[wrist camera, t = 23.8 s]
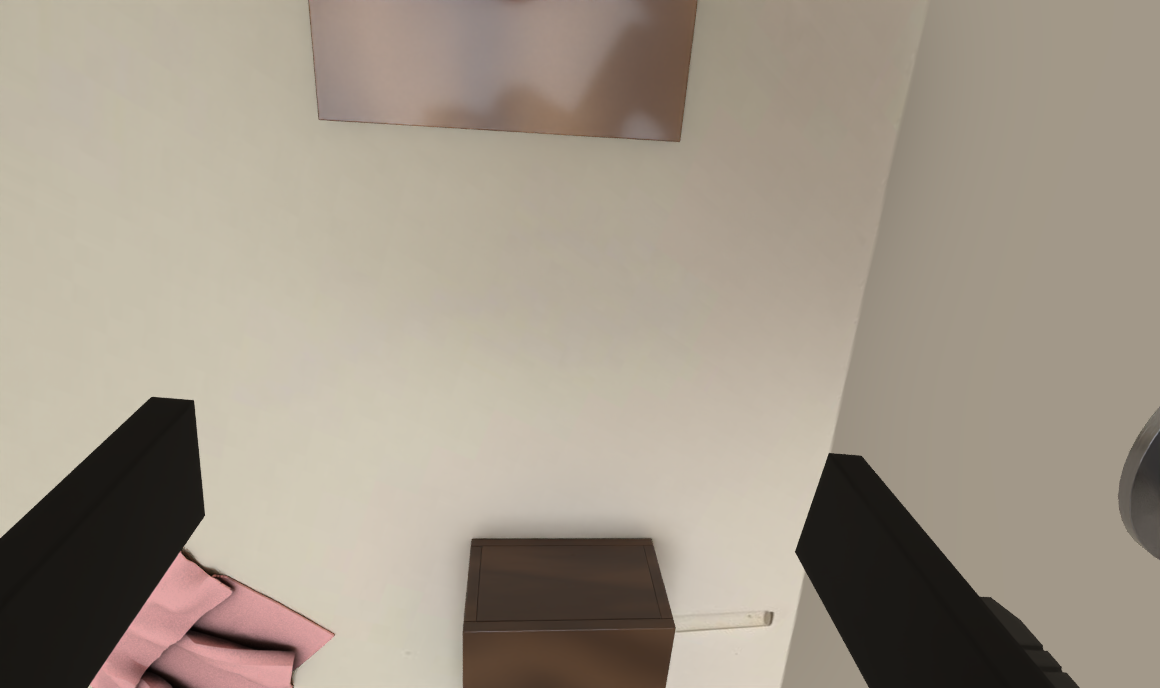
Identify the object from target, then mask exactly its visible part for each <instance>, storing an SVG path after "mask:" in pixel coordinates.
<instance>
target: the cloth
mask: <svg viewBox="0 0 1160 688" xmlns="http://www.w3.org/2000/svg"><path fill="white" fill-rule="evenodd" d="M334 636H335V634H333V633H331V632H329V631H328V630H326V629H324V628H322V627H321V626H319V625H317V624H315V623H314V622H312V621H310V620H308V619H307V618H305V617H303V616H301V615H300V614H298V613H296V612H294V611H292V610H290V609H288V608H287V607H285V606H283V605H282V604H280V603H278V602H276V601H274V600H272V599H270V598H268V597H266V596H264V595H262V594H260V593H258V592H256V591H254V590H252V589H250V588H249V587H247V586H245V585H243V584H241V583H239V582H237V581H235V580H233V579H231V578H229V577H228V576H224V575H216V574H214V575H212V576H209V575H208V574H207V573H206V572H205V571H204V570H202V569H201V568H200V567H199V566H198V565H197V564H195V563H194V562H192V561H190V560H187V559H186V558H185V557H184V555H183V553H182V551H180V553H179V554H178V556H177V557H176V559H175V560H174V562H173V563H172V565H171V566H170V567H169V569H168V570H167V572H166V573H165V575H164V576H163V578H162V579H161V581H160V582H159V584H158V585H157V587H156V588H155V589H154V591H153V592H152V594H151V595H150V597H149V598H148V600H147V601H146V603H145V604H144V606H143V607H142V609H141V610H140V611H139V613H138V614H137V616H136V617H135V619H134V620H133V622H132V623H131V625H130V626H129V628H128V629H127V631H126V632H125V634H124V635H123V636H122V638H121V639H120V641H119V642H118V644H117V645H116V647H115V648H114V650H113V651H112V653H111V654H110V656H109V657H108V658H107V660H106V661H105V663H104V664H103V666H102V667H101V669H100V670H99V672H98V673H97V675H96V676H95V678H94V679H93V680H92V682H91V683H90V685H91V686H92V688H293V685H291V684H290V681H291V674H292V671H294V670H295V669H296V668H298V667H299V666H300V665H301V664H303V663H304V662H305V661H306V660H307V659H309V658H310V657H311V656H312V655H313V654H315V653H316V652H317V651H318V650H319V649H320V648H322V647H323V646H324V645H325V644H326V643H327V642H328V641H329V640H331V639H332V638H333V637H334Z"/></svg>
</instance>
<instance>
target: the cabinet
mask: <svg viewBox="0 0 1160 688" xmlns="http://www.w3.org/2000/svg"><path fill="white" fill-rule="evenodd" d="M675 629H676V627H675V624H674V620H673V616H672V612H671V609H670V605H669V601H668V598H667V594H666V590H665V586H664V583H663V579H662V575H661V572H660V568H659V564H658V561H657V557H656V553H655V550H654V546H653V543H652V539H472V540H471V550H470V561H469V571H468V582H467V592H466V603H465V613H464V623H463V688H666V682H667V676H668V670H669V664H670V658H671V652H672V646H673V640H674V635H675Z"/></svg>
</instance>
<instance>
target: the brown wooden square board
mask: <svg viewBox="0 0 1160 688" xmlns="http://www.w3.org/2000/svg"><path fill="white" fill-rule="evenodd" d="M697 1H698V0H308V2H309V14H310V25H311V37H312V49H313V60H314V72H315V83H316V95H317V107H318V118H319V120H330V121H347V122H363V123H379V124H396V125H412V126H428V127H445V128H461V129H477V130H494V131H510V132H526V133H543V134H559V135H575V136H592V137H608V138H624V139H641V140H657V141H673V142H680V137H681V129H682V121H683V113H684V105H685V97H686V89H687V81H688V73H689V65H690V57H691V49H692V41H693V33H694V25H695V17H696V9H697Z"/></svg>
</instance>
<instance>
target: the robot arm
mask: <svg viewBox="0 0 1160 688" xmlns="http://www.w3.org/2000/svg"><path fill="white" fill-rule="evenodd" d="M204 516H205V510H204V500H203V489H202V479H201V469H200V458H199V448H198V437H197V427H196V417H195V406H194V400H184V399H172V398H160V397H151V398H150V399H149V400H148V401H147V402H146V403H144V404H143V405H142V406H141V407H140V408H139V409H138V410H137V411H136V412H135V413H134V414H133V415H132V416H131V417H129V418H128V419H127V420H126V421H125V422H124V423H123V424H122V425H121V426H120V427H119V428H118V429H117V430H116V431H115V432H113V433H112V434H111V435H110V436H109V437H108V438H107V439H106V440H105V441H104V442H103V443H102V444H101V445H100V446H99V447H97V448H96V449H95V450H94V451H93V452H92V453H91V454H90V455H89V456H88V457H87V458H86V459H85V460H84V461H82V462H81V463H80V464H79V465H78V466H77V467H76V468H75V469H74V470H73V471H72V472H71V473H70V474H69V475H68V476H66V477H65V478H64V479H63V480H62V481H61V482H60V483H59V484H58V485H57V486H56V487H55V488H54V489H53V490H51V491H50V492H49V493H48V494H47V495H46V496H45V497H44V498H43V499H42V500H41V501H40V502H39V503H38V504H37V505H35V506H34V507H33V508H32V509H31V510H30V511H29V512H28V513H27V514H26V515H25V516H24V517H23V518H22V519H20V520H19V521H18V522H17V523H16V524H15V525H14V526H13V527H12V528H11V529H10V530H9V531H8V532H7V533H6V534H4V535H3V536H2V537H1V538H0V688H88V686H89V685H90V683H91V682H92V680H93V679H94V678H95V676H96V675H97V673H98V672H99V670H100V669H101V667H102V666H103V664H104V663H105V661H106V660H107V658H108V657H109V656H110V654H111V653H112V651H113V650H114V648H115V647H116V645H117V644H118V642H119V641H120V639H121V638H122V636H123V635H124V634H125V632H126V631H127V629H128V628H129V626H130V625H131V623H132V622H133V620H134V619H135V617H136V616H137V614H138V613H139V611H140V610H141V609H142V607H143V606H144V604H145V603H146V601H147V600H148V598H149V597H150V595H151V594H152V592H153V591H154V589H155V588H156V587H157V585H158V584H159V582H160V581H161V579H162V578H163V576H164V575H165V573H166V572H167V570H168V569H169V567H170V566H171V565H172V563H173V562H174V560H175V559H176V557H177V556H178V554H179V553H180V551H181V550H182V548H183V547H184V545H185V544H186V543H187V541H188V540H189V538H190V537H191V535H192V534H193V532H194V531H195V529H196V528H197V526H198V525H199V523H200V522H201V521H202V519H203V518H204ZM795 553H796V555H797V556H798V558H799V560H800V562H801V564H802V566H803V567H804V569H805V571H806V573H807V575H808V577H809V578H810V580H811V582H812V584H813V586H814V587H815V589H816V591H817V593H818V595H819V597H820V598H821V600H822V602H823V604H824V606H825V608H826V610H827V611H828V613H829V615H830V617H831V619H832V621H833V622H834V624H835V626H836V628H837V630H838V632H839V633H840V635H841V637H842V639H843V641H844V643H845V644H846V646H847V648H848V650H849V652H850V654H851V655H852V657H853V659H854V661H855V663H856V664H857V667H858V668H859V670H860V672H861V674H862V676H863V678H864V679H865V681H866V683H867V685H868V687H869V688H1079V686H1077V684H1076V683H1075V682H1074V681H1073V680H1072V678H1071V677H1070V676H1069V675H1068V674H1067V673H1063V672H1062V670H1061V668H1062V667H1061V666H1060V665H1059V664H1058V662H1057V661H1056V660H1055V659H1054V658H1053V657H1052V656H1051V654H1050V653H1049V652H1048V651H1044V650H1043V645H1042V644H1041V643H1040V642H1039V641H1038V640H1037V639H1036V637H1035V636H1034V635H1033V634H1032V633H1031V632H1030V631H1029V629H1028V628H1027V627H1026V626H1025V625H1024V624H1023V622H1022V621H1021V620H1019V619H1018V618H1017V617H1016V616H1014V615H1013V614H1012V613H1010V612H1009V611H1008V610H1007V609H1005V608H1004V607H1003V606H1001V605H1000V604H999V603H997V602H996V601H995V600H993V599H992V598H991V597H979V596H978V595H977V593H976V592H975V591H974V590H973V588H972V587H971V586H970V585H969V584H968V582H967V581H966V580H965V579H964V578H963V577H962V575H961V574H960V573H959V572H958V571H957V569H956V568H955V567H954V566H953V565H952V563H951V562H950V561H949V560H948V559H947V557H946V556H945V555H944V554H943V553H942V551H941V550H940V549H939V548H938V547H937V545H936V544H935V543H934V542H933V541H932V539H931V538H930V537H929V536H928V535H927V533H926V532H925V531H924V530H923V529H922V528H921V527H920V525H919V524H918V523H917V522H916V520H915V519H914V518H913V517H912V516H911V514H910V513H909V512H908V511H907V510H906V508H905V507H904V506H903V505H902V504H901V502H900V501H899V500H898V499H897V498H896V496H895V495H894V494H893V493H892V492H891V491H890V489H889V488H888V487H887V486H886V485H885V483H884V482H883V481H882V480H881V479H880V477H879V476H878V475H877V474H876V473H875V471H874V470H873V469H872V468H871V467H870V465H868V463H867V462H866V461H865V459H864V458H863V457H862V456H857V455H846V454H834V453H829V454H828V457H827V460H826V463H825V466H824V469H823V472H822V475H821V478H820V481H819V484H818V487H817V489H816V492H815V495H814V498H813V501H812V504H811V507H810V510H809V513H808V516H807V519H806V521H805V524H804V527H803V530H802V533H801V536H800V539H799V542H798V545H797V548H796V551H795Z"/></svg>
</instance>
